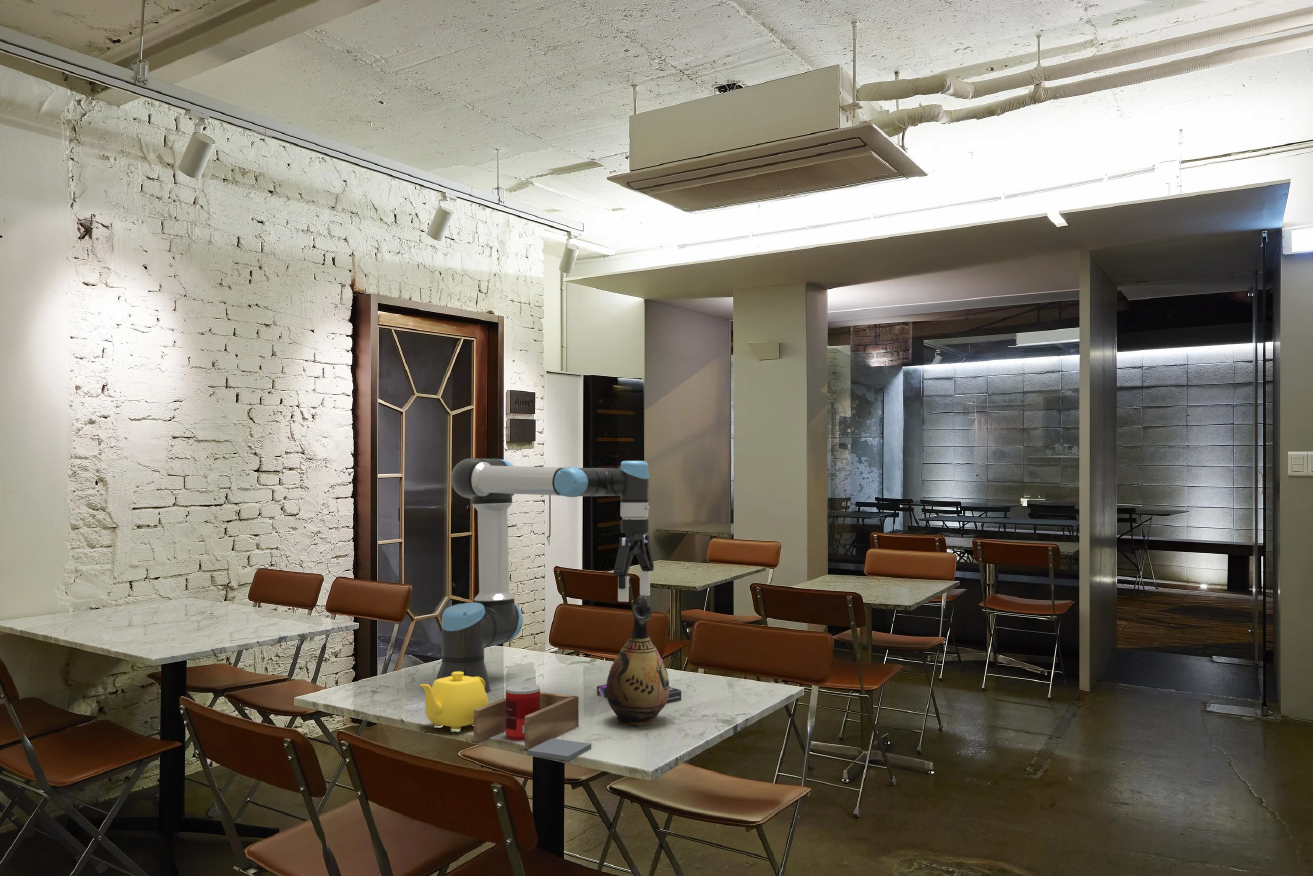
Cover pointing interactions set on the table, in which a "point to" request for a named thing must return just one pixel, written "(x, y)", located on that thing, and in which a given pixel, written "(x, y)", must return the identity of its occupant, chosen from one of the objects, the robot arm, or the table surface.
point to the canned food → (520, 708)
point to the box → (672, 697)
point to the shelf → (530, 719)
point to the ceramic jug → (638, 675)
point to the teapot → (454, 700)
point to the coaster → (559, 749)
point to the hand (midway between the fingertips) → (634, 598)
